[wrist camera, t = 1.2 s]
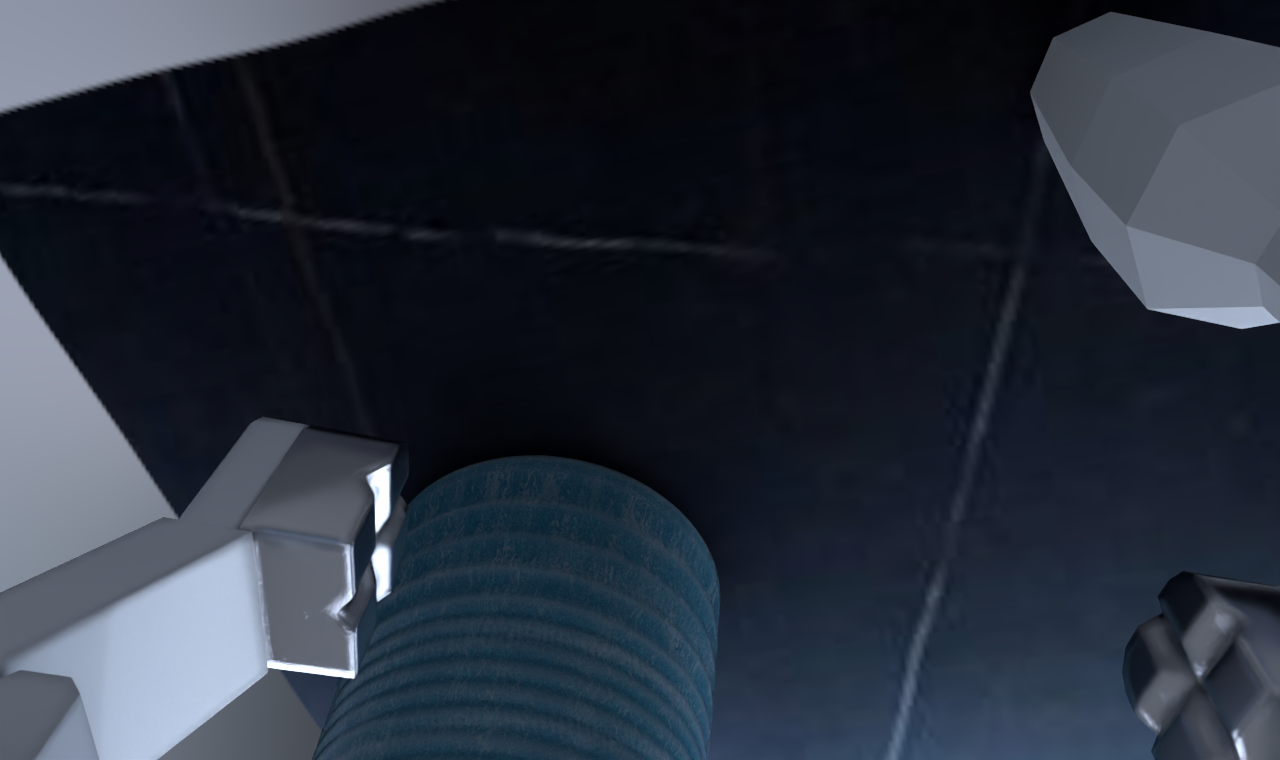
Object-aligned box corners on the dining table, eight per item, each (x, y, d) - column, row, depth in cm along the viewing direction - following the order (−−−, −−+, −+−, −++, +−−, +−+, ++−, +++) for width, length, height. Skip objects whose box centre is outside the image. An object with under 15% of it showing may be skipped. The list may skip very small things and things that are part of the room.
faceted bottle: (998, 182, 33) (1348, 675, 15) (1010, -3, 30) (1485, 333, 11) (1185, 163, 32) (1809, 661, 14) (1220, -31, 29) (2108, 284, 10)
